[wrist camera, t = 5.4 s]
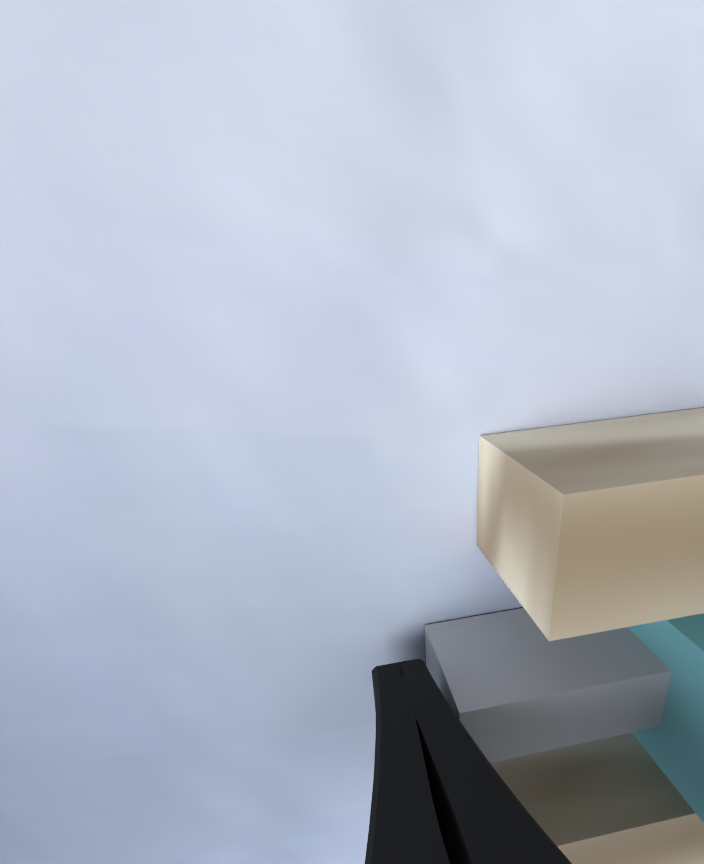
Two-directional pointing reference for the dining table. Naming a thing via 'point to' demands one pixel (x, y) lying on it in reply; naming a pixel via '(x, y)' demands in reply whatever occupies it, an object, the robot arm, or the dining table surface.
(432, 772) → the robot arm
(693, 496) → the channel
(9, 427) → the dining table surface
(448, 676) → the plug
